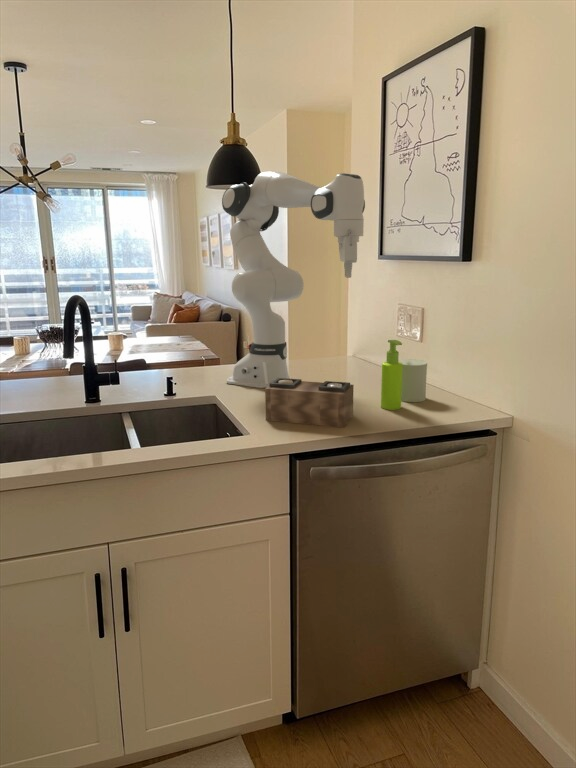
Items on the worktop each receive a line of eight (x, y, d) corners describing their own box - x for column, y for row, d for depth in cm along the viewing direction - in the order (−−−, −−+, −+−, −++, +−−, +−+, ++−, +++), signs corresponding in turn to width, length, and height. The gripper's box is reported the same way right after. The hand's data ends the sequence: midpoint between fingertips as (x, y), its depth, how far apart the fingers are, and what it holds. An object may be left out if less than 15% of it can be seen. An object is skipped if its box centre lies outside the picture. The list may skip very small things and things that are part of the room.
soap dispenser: (387, 411, 161) (390, 342, 156) (377, 405, 168) (379, 339, 163) (406, 409, 163) (409, 341, 158) (395, 403, 169) (397, 338, 165)
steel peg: (325, 414, 152) (325, 386, 150) (329, 410, 156) (329, 382, 154) (339, 415, 151) (339, 387, 149) (343, 411, 155) (343, 383, 153)
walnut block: (265, 420, 155) (265, 384, 152) (279, 409, 165) (279, 376, 162) (343, 427, 147) (344, 390, 145) (353, 415, 158) (353, 381, 155)
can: (390, 399, 174) (392, 361, 171) (402, 393, 181) (403, 356, 178) (419, 403, 169) (421, 364, 166) (430, 397, 176) (432, 359, 173)
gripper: (362, 229, 157) (361, 279, 160) (356, 231, 177) (355, 275, 180) (340, 229, 157) (339, 279, 161) (336, 231, 177) (335, 276, 181)
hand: (347, 277), depth 171 cm, fingers closed
